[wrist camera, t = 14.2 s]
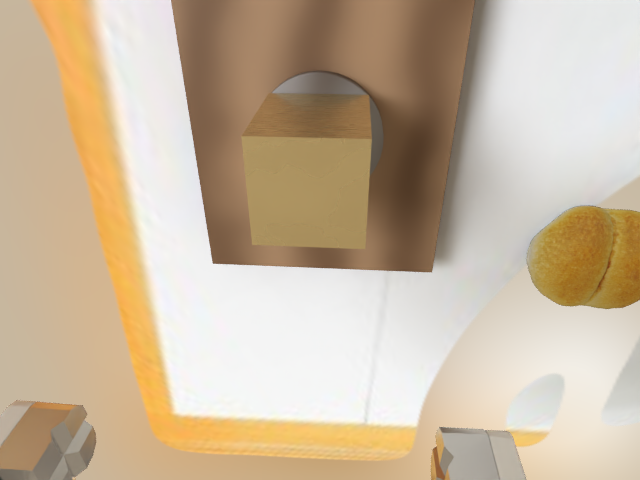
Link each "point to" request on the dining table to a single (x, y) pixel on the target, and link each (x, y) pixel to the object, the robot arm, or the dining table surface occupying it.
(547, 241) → the bread roll
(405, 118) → the walnut board
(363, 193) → the wooden cube block
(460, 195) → the dining table surface
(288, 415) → the dining table surface
